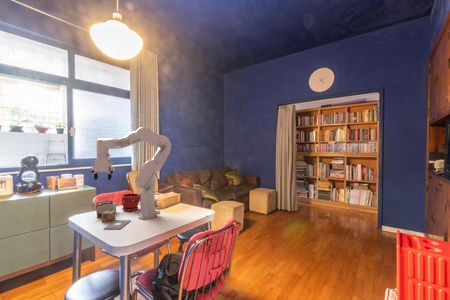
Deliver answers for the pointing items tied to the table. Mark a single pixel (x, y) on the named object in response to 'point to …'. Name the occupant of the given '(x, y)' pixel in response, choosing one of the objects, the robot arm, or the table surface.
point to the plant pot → (130, 202)
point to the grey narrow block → (114, 207)
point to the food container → (103, 207)
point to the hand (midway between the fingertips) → (102, 179)
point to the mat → (117, 224)
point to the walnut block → (108, 216)
